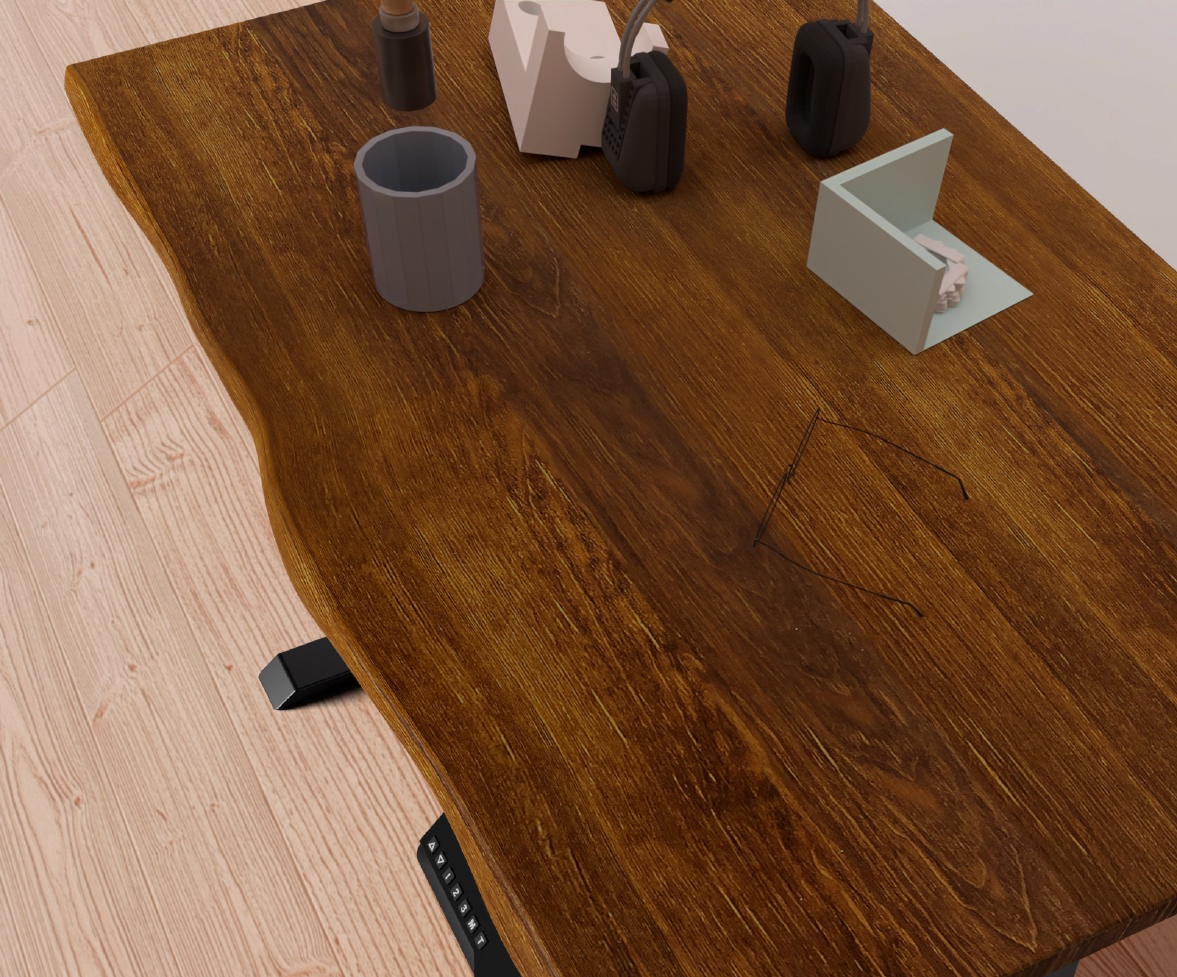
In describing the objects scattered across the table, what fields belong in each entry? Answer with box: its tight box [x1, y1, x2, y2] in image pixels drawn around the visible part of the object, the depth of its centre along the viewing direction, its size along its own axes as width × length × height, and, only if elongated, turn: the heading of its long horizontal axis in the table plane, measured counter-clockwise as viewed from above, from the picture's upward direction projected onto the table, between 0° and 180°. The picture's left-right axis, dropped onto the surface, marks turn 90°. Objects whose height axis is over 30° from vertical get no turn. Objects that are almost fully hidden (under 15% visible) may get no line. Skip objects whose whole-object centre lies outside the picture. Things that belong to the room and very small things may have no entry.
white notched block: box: [487, 0, 670, 159], centre depth 107 cm, size 18×10×10 cm, turn 11°
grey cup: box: [353, 125, 486, 313], centre depth 92 cm, size 8×8×10 cm
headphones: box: [601, 0, 875, 193], centre depth 98 cm, size 22×6×20 cm, turn 109°
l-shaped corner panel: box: [806, 127, 1034, 356], centre depth 93 cm, size 12×12×8 cm
